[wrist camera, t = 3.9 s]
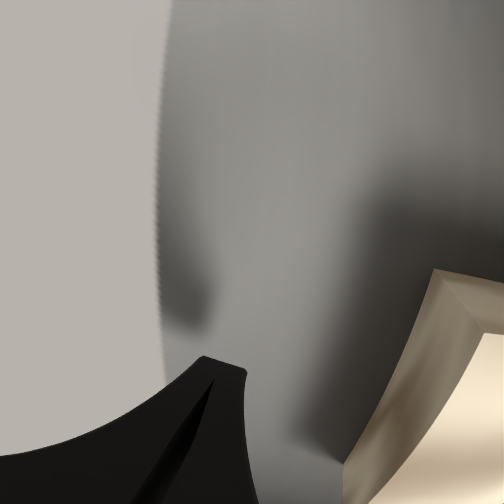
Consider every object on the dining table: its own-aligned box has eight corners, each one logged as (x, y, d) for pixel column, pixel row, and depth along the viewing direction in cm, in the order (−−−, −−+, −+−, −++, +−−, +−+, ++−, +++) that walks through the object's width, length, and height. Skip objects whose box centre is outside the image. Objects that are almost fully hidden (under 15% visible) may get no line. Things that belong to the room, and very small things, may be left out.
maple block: (474, 458, 11) (489, 514, 7) (343, 459, 12) (340, 530, 8) (573, 296, 8) (625, 344, 4) (430, 264, 9) (484, 332, 5)
